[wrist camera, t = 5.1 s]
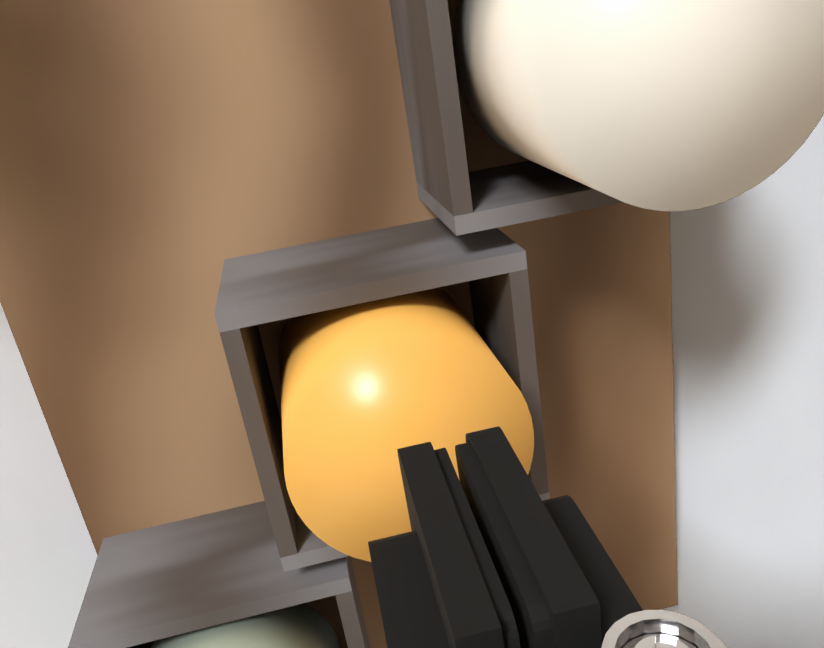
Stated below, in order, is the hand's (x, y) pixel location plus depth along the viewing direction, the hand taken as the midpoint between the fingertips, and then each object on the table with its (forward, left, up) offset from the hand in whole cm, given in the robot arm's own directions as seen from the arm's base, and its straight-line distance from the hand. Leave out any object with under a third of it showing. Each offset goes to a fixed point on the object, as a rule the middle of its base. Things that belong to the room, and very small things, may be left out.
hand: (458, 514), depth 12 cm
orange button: (0, +1, -8) cm, 8 cm away
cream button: (-5, -6, -6) cm, 10 cm away
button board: (0, +1, -10) cm, 10 cm away
